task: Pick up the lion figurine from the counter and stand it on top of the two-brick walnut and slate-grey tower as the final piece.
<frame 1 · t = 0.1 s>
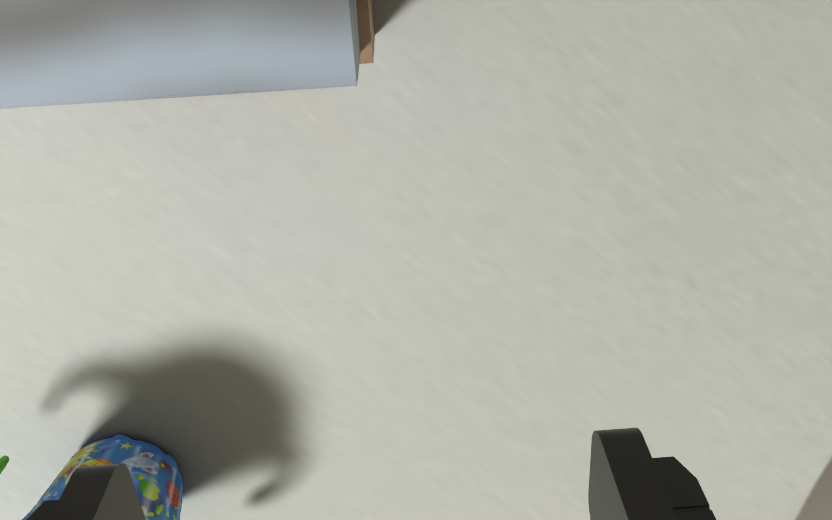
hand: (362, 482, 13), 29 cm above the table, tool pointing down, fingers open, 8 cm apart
snack cup: (129, 470, 52), on the table
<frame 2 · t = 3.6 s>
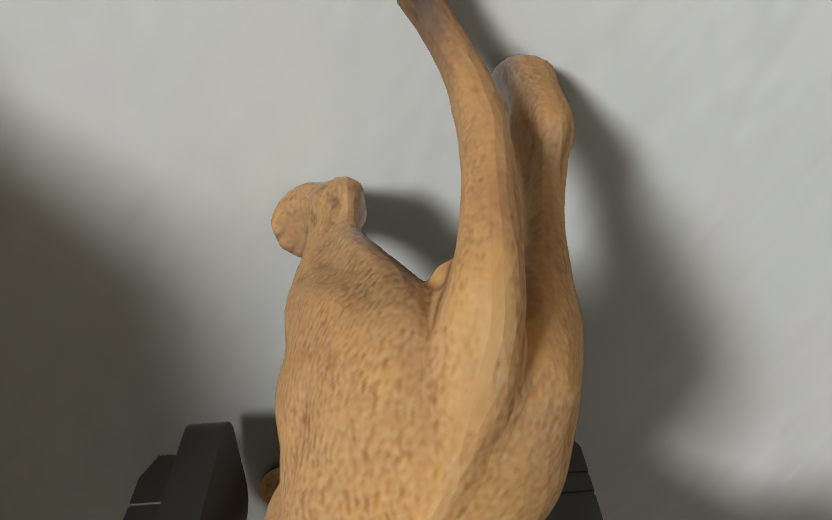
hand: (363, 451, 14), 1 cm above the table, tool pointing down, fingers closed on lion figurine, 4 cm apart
lion figurine: (402, 365, 14), on the table, touching gripper
when the fingers open (12 cm above the table, at t = 9.4 s): lion figurine drops 1 cm, resting on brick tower.
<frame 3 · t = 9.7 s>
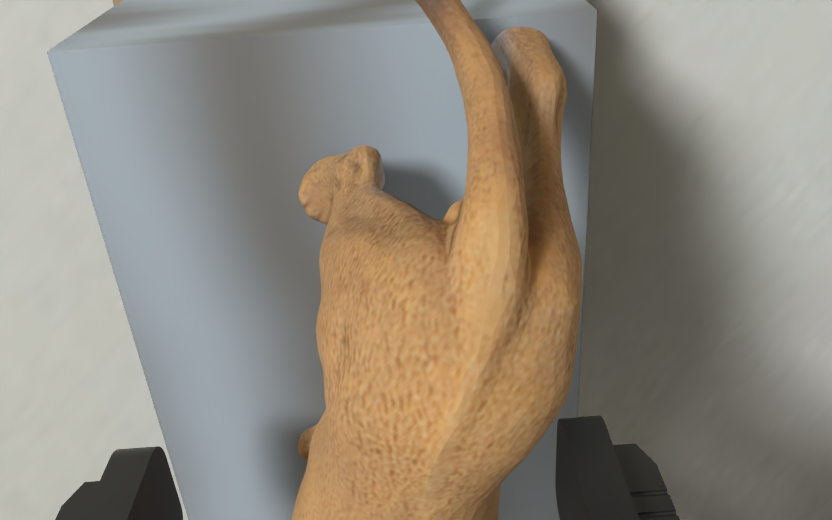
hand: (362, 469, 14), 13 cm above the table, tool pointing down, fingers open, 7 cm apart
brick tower: (372, 179, 25), on the table
lion figurine: (423, 323, 16), point 10 cm above the table, touching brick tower
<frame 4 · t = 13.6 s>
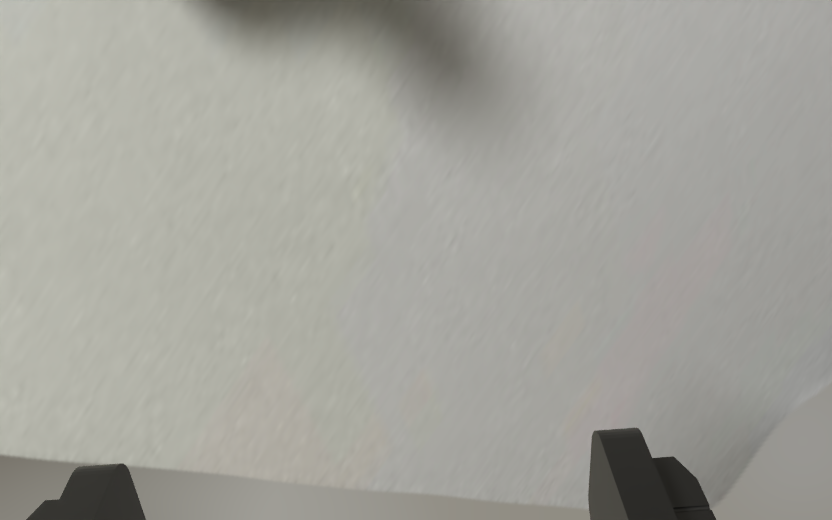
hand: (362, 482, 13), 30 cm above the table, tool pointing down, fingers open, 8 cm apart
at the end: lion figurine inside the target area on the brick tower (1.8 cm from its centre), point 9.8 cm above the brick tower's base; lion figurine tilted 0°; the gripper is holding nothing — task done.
